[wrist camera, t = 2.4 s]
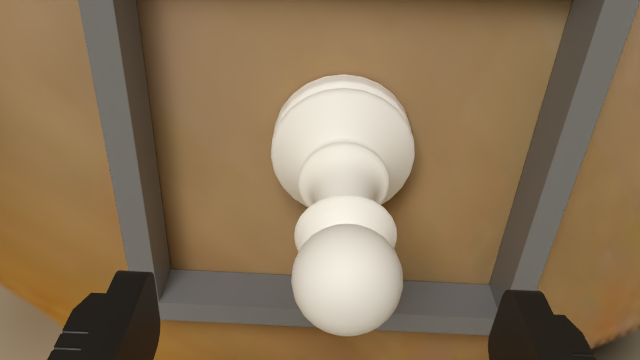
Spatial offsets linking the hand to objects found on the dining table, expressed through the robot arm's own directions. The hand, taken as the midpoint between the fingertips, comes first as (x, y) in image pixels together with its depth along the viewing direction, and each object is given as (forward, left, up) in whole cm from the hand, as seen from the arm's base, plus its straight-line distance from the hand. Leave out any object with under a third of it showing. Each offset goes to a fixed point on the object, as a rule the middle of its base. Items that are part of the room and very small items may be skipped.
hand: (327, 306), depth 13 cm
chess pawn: (-1, 0, -9) cm, 9 cm away
